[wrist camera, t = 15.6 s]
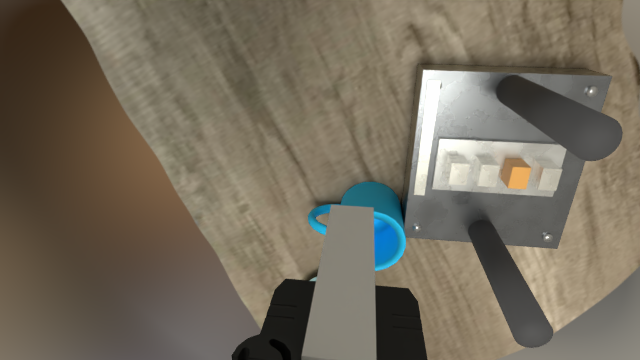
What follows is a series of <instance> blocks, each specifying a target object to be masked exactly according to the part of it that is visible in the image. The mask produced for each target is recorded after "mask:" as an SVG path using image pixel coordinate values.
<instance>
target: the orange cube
mask: <svg viewBox="0 0 640 360" xmlns="http://www.w3.org/2000/svg"><path fill="white" fill-rule="evenodd" d="M530 172H531V167H530V166H529V165H528V164H527V163H526V162H525V161H524V160H523V159H505V162H504V167H503V171H502V176H501V180H502V181H503V183H504V184H505V185H506V187H507V188H512V189H526V187H527V183H528V180H529V176H530Z"/></svg>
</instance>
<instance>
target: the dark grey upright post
mask: <svg viewBox="0 0 640 360" xmlns="http://www.w3.org/2000/svg"><path fill="white" fill-rule="evenodd" d="M468 234H469V237H470V239H471V241H472V243H473V246H474V248H475V250H476V253H477V255H478V257H479V259H480V262H481V264H482V266H483V269H484V271H485V273H486V275H487V278H488V280H489V282H490V284H491V287H492V289H493V291H494V294H495V296H496V298H497V300H498V303H499V305H500V307H501V310H502V312H503V314H504V316H505V319H506V321H507V323H508V326H509V328H510V330H511V332H512V335H513V337H514V339H515V341H516V342H517V343H518V344H520V345H521V346H524V347H529V348H533V347H539V346H542V345H544V344H546V343H547V342H549V341H550V339H551V338H552V336H553V329H552V327H551V325H550V323H549V322H548V320H547V318H546V316H545V315H544V313H543V311H542V309H541V308H540V306H539V304H538V302H537V301H536V299H535V297H534V295H533V294H532V292H531V290H530V288H529V287H528V285H527V283H526V281H525V280H524V278H523V276H522V274H521V273H520V271H519V269H518V267H517V266H516V264H515V262H514V260H513V259H512V257H511V255H510V253H509V252H508V250H507V248H506V246H505V245H504V243H503V241H502V239H501V238H500V236H499V234H498V232H497V231H496V229H495V227H494V225H493V224H492V223H491V222H489V221H487V220H478V221H475V222H474V223H472V224H471V225H470V227H469V229H468Z"/></svg>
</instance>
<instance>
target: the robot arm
mask: <svg viewBox="0 0 640 360" xmlns="http://www.w3.org/2000/svg"><path fill="white" fill-rule="evenodd" d="M232 360H427V354H426V348H425V342H424V336H423V332H422V324H421V320H420V311H419V305H418V301H417V300H416V298H415V297H414V296H413V294H412V293H411V291H410V290H409V289H408V288H398V287H387V286H375V255H374V208H373V207H359V206H344V205H331V208H330V213H329V218H328V223H327V228H326V233H325V239H324V244H323V249H322V254H321V259H320V264H319V269H318V274H317V279H316V281H306V280H295V279H285V280H284V281H283V282H282V283H281V284H280V285H279V286H278V287H277V288H276V289H275V291H274V294H273V297H272V300H271V303H270V306H269V309H268V312H267V316H266V318H265V321H264V324H263V327H262V330H261V333H260V334H259V335H256V336H253V337H250V338H248V339H246V340H245V341H244V342H242V343H241V344H240V345H239V346H238V347H237V348H236V350H235V351H234V353H233V354H232Z"/></svg>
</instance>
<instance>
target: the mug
mask: <svg viewBox="0 0 640 360" xmlns="http://www.w3.org/2000/svg"><path fill="white" fill-rule="evenodd" d="M331 205H344V206H359V207H373V208H374V255H375V271H378V270H382V269H385V268H388V267H390V266H391V265H393V264H395V263H396V262H397V261H398V260H399V259H400V257H401V256H402V255H403V252H404V250H405V247H406V236H405V230H404V223H403V217H402V210H401V204H400V201H399V199H398V196H397V195H396V194H395V193H394V191H393V190H392V189H390V188H389V187H387V186H386V185H384V184H381V183H377V182H363V183H360V184H357V185H354V186H353V187H352V188H350V189H349V190H348V191H347V192H346V193H345V195H344V196H343V197H342V201H341V204H327V205H322V206H318V207H316V208H314V209H312V211H311V212H310V213H309V215H308V221H309V224H310V225H311V226H312V228H313V229H314V230H316V231H318V232H319V233H321V234H324V235H325V233H326V228H327V226H326V225H323V224H322V223H320V222H318V221H317V220H316V217H317V216H319V215H321V214H325V213H330V208H331Z"/></svg>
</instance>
